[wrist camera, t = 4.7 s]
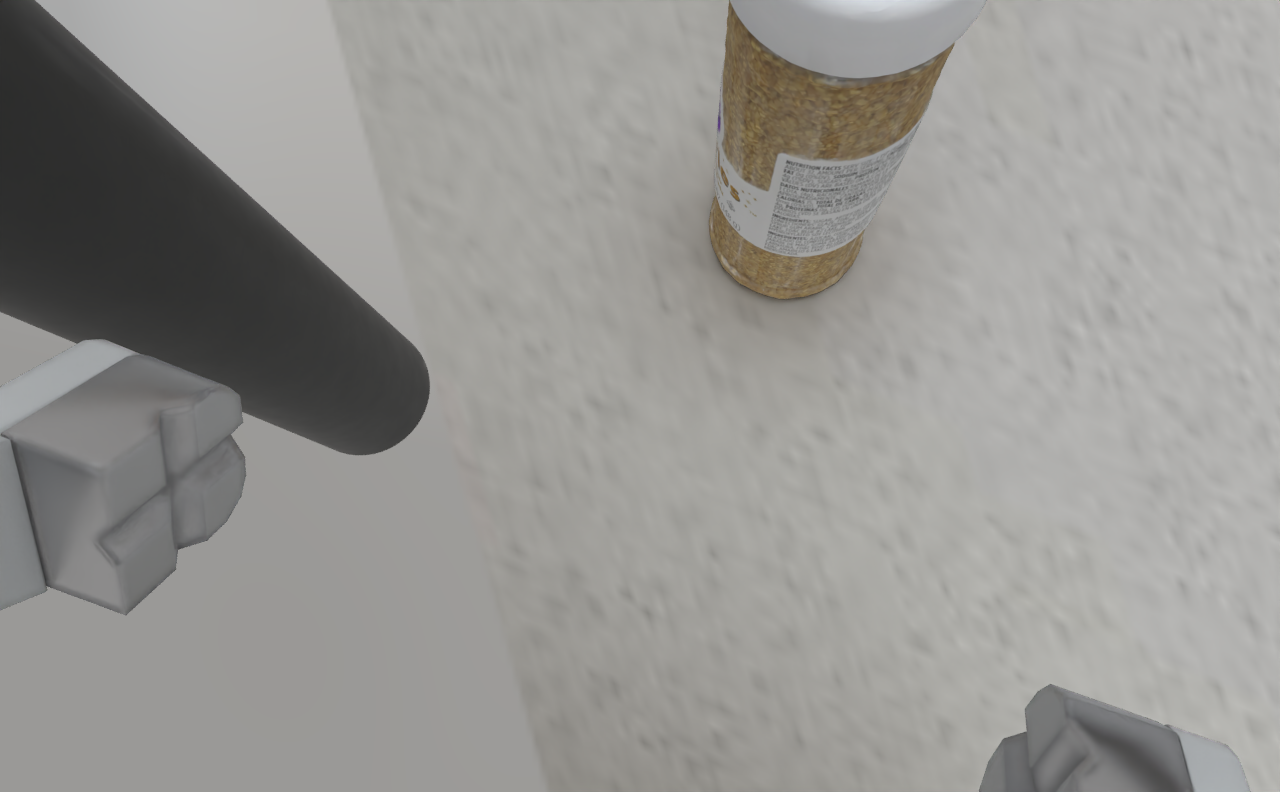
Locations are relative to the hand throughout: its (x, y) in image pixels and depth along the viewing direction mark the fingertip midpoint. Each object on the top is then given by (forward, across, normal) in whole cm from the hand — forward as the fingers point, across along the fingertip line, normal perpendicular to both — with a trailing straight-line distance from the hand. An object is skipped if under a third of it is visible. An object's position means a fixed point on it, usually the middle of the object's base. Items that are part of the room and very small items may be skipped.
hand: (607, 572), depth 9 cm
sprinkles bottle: (+19, 0, +4) cm, 20 cm away
